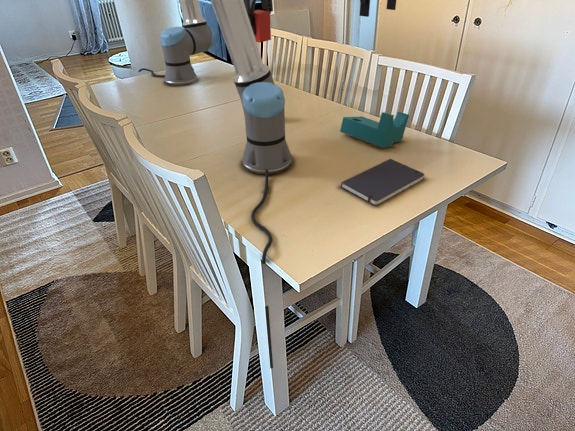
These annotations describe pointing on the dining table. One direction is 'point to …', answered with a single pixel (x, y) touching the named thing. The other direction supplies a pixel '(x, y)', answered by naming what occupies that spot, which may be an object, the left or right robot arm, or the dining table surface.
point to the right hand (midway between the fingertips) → (377, 12)
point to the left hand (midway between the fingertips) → (259, 32)
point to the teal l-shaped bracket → (376, 128)
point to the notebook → (382, 181)
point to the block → (262, 25)
